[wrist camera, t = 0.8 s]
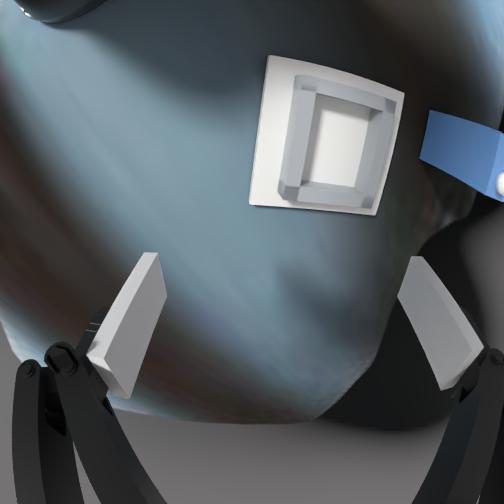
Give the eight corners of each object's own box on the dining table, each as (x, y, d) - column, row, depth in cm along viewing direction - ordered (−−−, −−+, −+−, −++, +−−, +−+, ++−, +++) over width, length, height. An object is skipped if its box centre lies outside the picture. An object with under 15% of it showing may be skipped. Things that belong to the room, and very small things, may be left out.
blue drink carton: (429, 109, 26) (507, 134, 15) (452, 121, 27) (524, 149, 16) (419, 158, 30) (491, 198, 19) (442, 166, 31) (509, 206, 20)
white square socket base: (267, 56, 22) (275, 51, 19) (399, 92, 25) (417, 95, 22) (248, 200, 30) (252, 214, 27) (371, 212, 33) (385, 224, 30)
